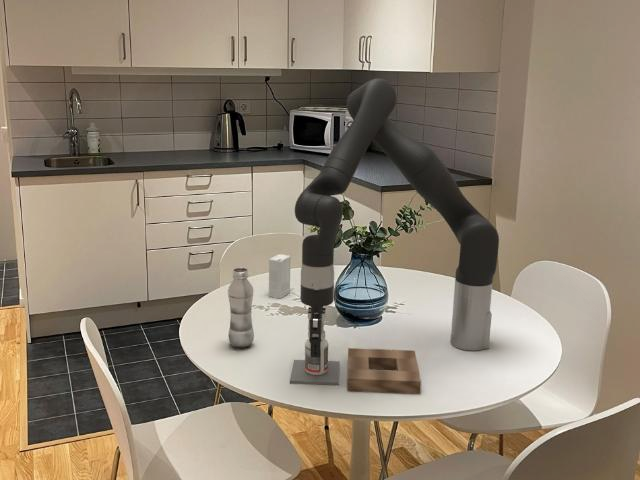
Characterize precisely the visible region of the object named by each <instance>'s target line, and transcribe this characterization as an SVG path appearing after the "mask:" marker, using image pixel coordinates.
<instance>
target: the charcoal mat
mask: <svg viewBox="0 0 640 480" xmlns="http://www.w3.org/2000/svg"><path fill="white" fill-rule="evenodd" d="M340 364H341V363H340V361H339V360H338V361H337V360H335V361H334V360H328V371H327V372H326V373H324V374H322V375H312V374H309V373H307V372H306V370H305V359H293V362H292V366H291V367H292V368H291V373H290V374H291V375H290V378H289V379H290V380H289V384H294V385H295V384H299V385H301V384H302V385H303V384H304V385H322V386H323V385H324V386H326V385H328V386H339V385H340Z"/></svg>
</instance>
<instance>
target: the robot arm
mask: <svg viewBox="0 0 640 480" xmlns="http://www.w3.org/2000/svg"><path fill="white" fill-rule="evenodd" d="M396 105H397V92H396V89H395V87H394V86H393V85H392V83H391V82H389V81H388V80H386V79H384V78H373V79H370V80H369V81H367V82H365V83H363V84H362V85H360V86H359V87H358V88H356V89H354V91H352V92H351V93H350V94H349V95H348V97H347V99H346V108H347V111H348V112H347V113H348V114H349V116H350V117H351V119H352V121H351V124H350V125H349V126H348V128H347V129H346V131H345V132H344V134H343V135H342V136H341V138H340V139H339V140H338V141H337V143H336V144H335V145H334V147H333V148H332V150H331V151H330V153H329V155H328V156H327V158H326V160H325V162H324V163H323V166H322V168H321V170H320V172H319V173H318V175H317V176H316V177H315V178H313V180H312V181H311V182H310V183H309V184H308V185H307V186H306V187H305V188H304V189H303V190H302V192H301V193H300V194H299V196H298V198H297V199H296V202H295V205H294V215H295V218H296V220H297V221H298V222H299V223H301V224H303V225H307V226H312V227H317V228H319V229H320V230H319V233H318V234H312V235H307V236H306V237H304V239H303V240H302V247H301V251H302V252H301V267H300V268H301V269H300V302H301V303H302V304H303V305H306V306H308V310H307V319H308V326H307V327H308V328H307V329H308V331H309V332H310V339H309V338H308V339H309V341H310V343H311V353H310V356H311V357H314V358H319V357H320V347H321V341H322V339H321V333H322V332H323V331H325V330H324V327H325V320H326V312H327V311H326V310H327V308H326V307H327V306H329V305H332V304H333V303H334V300H335V299H334V298H335V296H334V295H335V266H334V261H335V260H334V256H335V255H334V254H335V243H336V239H337V237H338V232H339V229H340V226H341V223H342V220H343V215H344V209H343V205H342V202H341V201H340V199H339V198H337V197H335V196H339V195H342V194H344V193H346V190H347V189H348V187H349V186H350V183H351V182H352V179H353V177H354V176H355V173H356V171H357V169H358V167H359V165H360V163H361V161H362V159H363V157H364V155H365V153H366V152H367V149H368V148H369V146H370V145H371V143H372V141H373V142H374V143H376V145H377V146H378V147H379V148H380V150H381V151H383V153H384V154H385V155H386V156H387V157H388V158H389V160H390V161H391V162H392V163H393V164H394V166H395V167H396V168H397V169H398V170H399V172H401V174H402V176H403V177H404V178H405V179H406V180H407V182H408V183H409V184H410V185H411V186H412V188H413V189H414V190H415V191H416V193H417V194H419V196H420V197H421V199H423V200H424V201H426V203H427V204H429V205H430V206H431V207H433V208H434V209H435V210H436V212H438V213H439V214H440V215H441V217H442V218H443V219H444V220H445V221H444V222H446V223H447V225H448V226H449V228H450V229H451V231H452V233H453V234H454V236H455V238H456V240H457V242H458V244H459V246H460V248H459V259H458V266H457V267H456V269H455V276H454V277H455V278H454V289H453V291H454V292H453V306H452V315H451V316H452V317H451V330H450V331H451V332H450V344H451V345H452V346H453V347H455V348H458V349H460V350H464V351H481V350H484V349H486V350H487V349H489V348H490V336H491V326H492V314H493V313H492V312H491V303H492V293H493V281H494V276H495V274H496V270H497V265H498V264H497V263H498V257H499V248H500V247H499V246H500V237H499V233H498V230H497V229H496V227H495V226H494V225H493V224H492V223H491V222H490V221H489V220H488V219H487V218H486V217H485V216H484V215H483V214H482V213H481V212H480V211H478V209H477V208H476V207H474V205H473V204H472V203H471V202H470V201H469V200H468V199H467V197H466V196H465V195H464V194H463V192H462V191H461V190H460V187H459V186H458V183H457V182H456V180H455V177H453V175H452V174H451V172H450V171H449V169H448V168H447V166H446V165H445V164H444V162H443V161H442V160H441V158H440V157H439V156H438V155H437V154H436V152H434V151H433V150H432V148H431V147H430V146H427V145H426V144H425V143H423V142H422V141H419V140H418V139H416V138H414V137H413V136H411V135H409V134H407V133H405V132H404V131H402V130H401V129H399V128H398V127H397V126H396V125H395V124H394V123H393V121H392V120H391V118H389V116H390V115H391V114H392V112H393V111H394V110H395V108H396ZM313 334H318V335H319V337H312V336H313Z"/></svg>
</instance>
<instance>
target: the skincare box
mask: <svg viewBox="0 0 640 480" xmlns="http://www.w3.org/2000/svg"><path fill="white" fill-rule="evenodd" d="M291 259H292V257H291V255H287V254H281V253H278V254H277V255H275V256H273V257H270V258H269V259H268V296H269V297H270V298H273V299H282V298H283V297H285V296H286V295H288V294H290V293H291Z"/></svg>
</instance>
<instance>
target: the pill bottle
mask: <svg viewBox="0 0 640 480" xmlns="http://www.w3.org/2000/svg"><path fill="white" fill-rule="evenodd" d="M312 337H319V335H318V334H313V336H312ZM309 339H310V332H309V330H308V332H307V339H306V340H305V342H304V360H305V370H306V372H307V373H309V374H312V375H322V374H324V373H326V372H327V371H328V361H329V342H328V339H326V331H325V330H324V331H323V332H322V333H321V339H322V341H321V347H320V357H319V358H314V357H311V356H310V353H311V343H310V341H309Z"/></svg>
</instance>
